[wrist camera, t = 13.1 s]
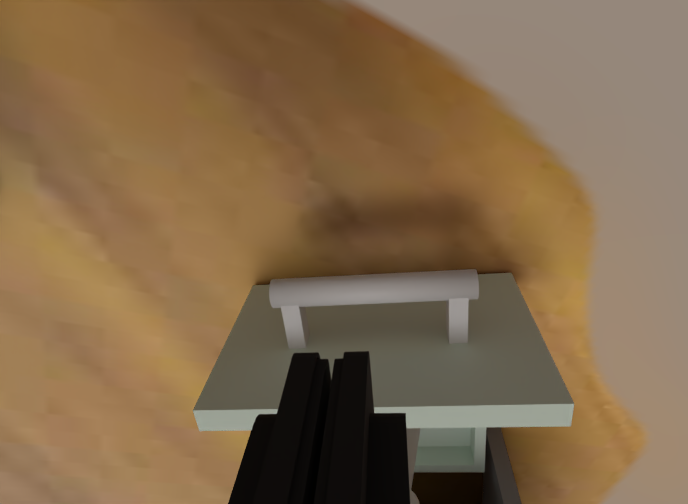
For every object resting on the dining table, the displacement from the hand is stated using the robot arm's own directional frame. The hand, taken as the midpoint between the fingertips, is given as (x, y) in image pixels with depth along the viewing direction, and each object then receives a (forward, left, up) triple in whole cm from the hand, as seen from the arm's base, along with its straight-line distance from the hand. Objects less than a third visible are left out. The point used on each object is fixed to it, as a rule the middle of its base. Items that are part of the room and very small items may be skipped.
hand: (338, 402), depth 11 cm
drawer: (+15, 0, -21) cm, 26 cm away
